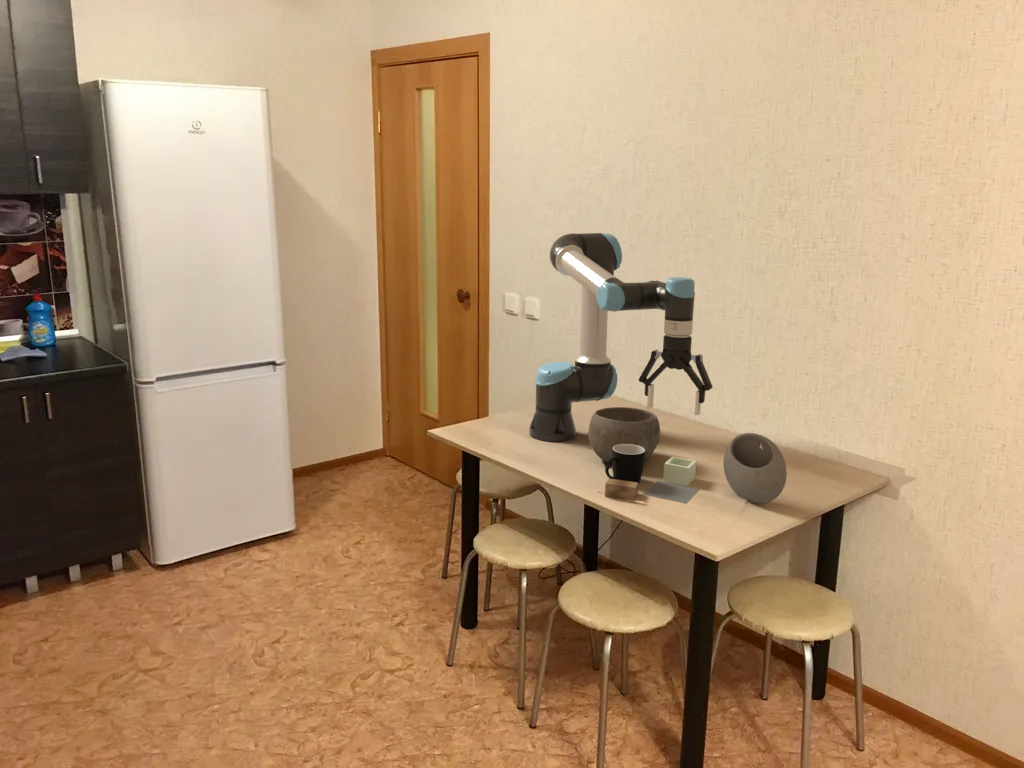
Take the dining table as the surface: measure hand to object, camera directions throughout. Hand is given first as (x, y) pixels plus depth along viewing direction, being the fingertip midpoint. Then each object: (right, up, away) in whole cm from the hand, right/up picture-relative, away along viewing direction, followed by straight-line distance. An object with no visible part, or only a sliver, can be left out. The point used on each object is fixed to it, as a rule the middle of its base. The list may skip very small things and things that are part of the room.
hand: (673, 411), depth 235 cm
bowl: (-12, -16, +19) cm, 27 cm away
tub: (+2, -20, +3) cm, 20 cm away
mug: (-14, -21, 0) cm, 25 cm away
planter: (+19, -24, -10) cm, 32 cm away
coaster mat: (-2, -22, -6) cm, 23 cm away
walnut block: (-16, -23, -9) cm, 29 cm away
